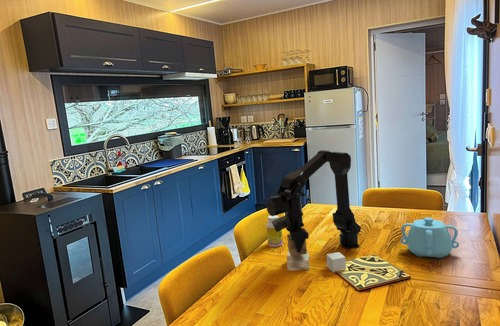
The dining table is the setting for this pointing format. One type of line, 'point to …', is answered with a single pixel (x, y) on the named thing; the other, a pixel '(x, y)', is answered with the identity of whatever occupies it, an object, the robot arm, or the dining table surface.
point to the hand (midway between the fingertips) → (297, 249)
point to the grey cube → (336, 261)
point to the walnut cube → (293, 248)
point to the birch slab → (298, 262)
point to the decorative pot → (429, 238)
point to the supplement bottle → (273, 233)
